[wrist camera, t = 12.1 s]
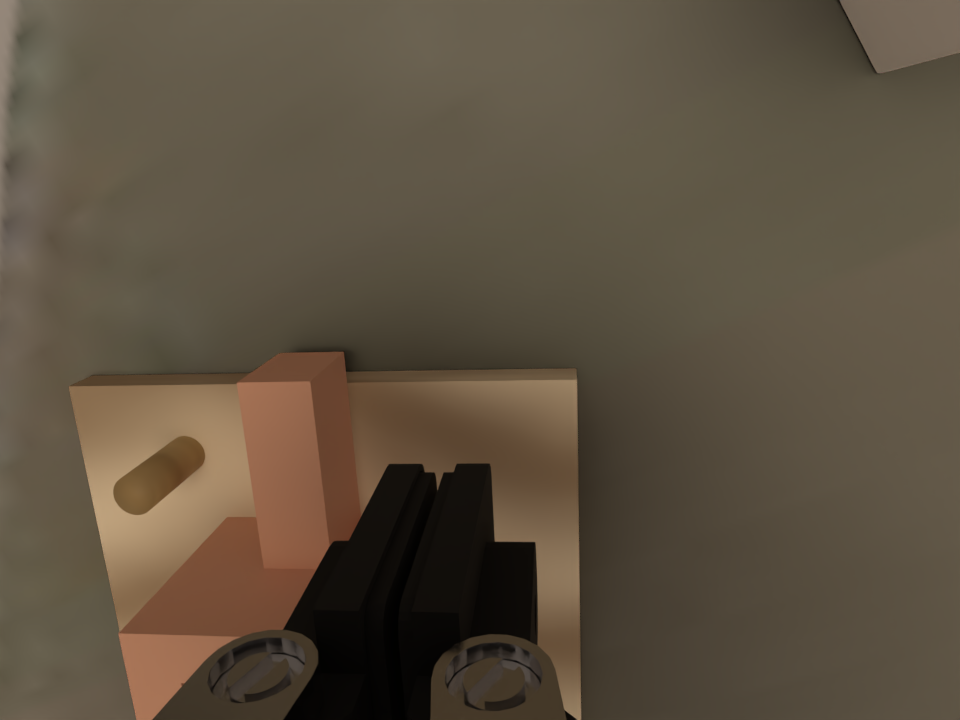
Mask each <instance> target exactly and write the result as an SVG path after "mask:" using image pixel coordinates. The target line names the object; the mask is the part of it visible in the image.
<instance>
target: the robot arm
mask: <svg viewBox="0 0 960 720" xmlns="http://www.w3.org/2000/svg"><path fill="white" fill-rule="evenodd" d="M537 645H538V595H537V561H536V544H535V542H495V536H494V515H493V495H492V476H491V466H490V464H489V463H467V464H456V466H455V470H454V472H444V473H443V476H442V479H441V482H440V485H439V488H438V490H437V481H436V475H435V473H434V472H425V471H424V466H423V464H389V465H388V466H387V468H386V470H385V471H384V473H383V475H382V477H381V479H380V481H379V483H378V485H377V487H376V489H375V491H374V493H373V495H372V497H371V499H370V500H369V502H368V504H367V506H366V508H365V510H364V512H363V514H362V516H361V518H360V520H359V522H358V524H357V526H356V527H355V529H354V531H353V533H352V535H351V537H350V539H349V541H333V542H332V544H331V545H330V546H329V548H328V550H327V552H326V553H325V555H324V557H323V559H322V561H321V562H320V564H319V566H318V568H317V569H316V571H315V573H314V575H313V577H312V578H311V580H310V582H309V584H308V586H307V587H306V589H305V591H304V593H303V595H302V596H301V598H300V600H299V602H298V603H297V605H296V607H295V609H294V611H293V612H292V614H291V616H290V618H289V620H288V621H287V623H286V625H285V627H284V629H283V630H266V631H261V632H255V633H251V634H248V635H245V636H243V637H240V638H237V639H234V640H233V641H231V642H229V643H227V644H226V645H224V646H222V647H220V648H219V649H217V650H216V651H215V652H214V653H213V654H212V655H211V656H209V657H208V658H207V659H206V660H205V661H204V662H203V663H202V664H201V665H200V667H199V668H198V669H197V670H196V671H195V672H194V673H193V674H192V676H191V677H190V678H189V679H188V680H187V681H186V682H185V683H184V684H183V686H182V687H181V688H180V689H179V690H178V691H177V692H176V693H175V695H174V696H173V697H172V698H171V699H170V700H169V701H168V702H167V704H166V705H165V706H164V707H163V708H162V709H161V710H160V711H159V713H158V714H157V715H156V716H155V717H154V718H153V719H152V720H577V719H576V718H574V717H573V716H572V715H571V714H569V713H568V712H567V711H565V710H564V706H563V701H562V697H561V692H560V688H559V683H558V679H557V674H556V670H555V667H554V665H553V663H552V661H551V659H550V657H549V656H548V655H547V654H546V653H545V652H544V651H543V650H542V649H541V648H540V647H539V646H537Z"/></svg>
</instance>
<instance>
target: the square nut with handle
mask: <svg viewBox="0 0 960 720" xmlns="http://www.w3.org/2000/svg"><path fill="white" fill-rule="evenodd" d="M237 389H238V396H239V402H240V409H241V416H242V423H243V430H244V437H245V443H246V450H247V457H248V464H249V471H250V478H251V485H252V491H253V498H254V505H255V512H256V517H227V518H226V519H225V520H224V521H223V522H222V523H221V524H220V525H219V526H218V527H217V528H216V529H215V530H214V532H213V533H212V534H211V535H210V536H209V537H208V538H207V539H206V540H205V541H204V542H203V543H202V544H201V545H200V547H199V548H198V549H197V550H196V551H195V552H194V553H193V554H192V555H191V556H190V557H189V558H188V559H187V560H186V562H185V563H184V564H183V565H182V566H181V567H180V568H179V569H178V570H177V571H176V572H175V573H174V574H173V575H172V577H171V578H170V579H169V580H168V581H167V582H166V583H165V584H164V585H163V586H162V587H161V588H160V589H159V590H158V591H157V593H156V594H155V595H154V596H153V597H152V598H151V599H150V600H149V601H148V602H147V603H146V604H145V605H144V606H143V608H142V609H141V610H140V611H139V612H138V613H137V614H136V615H135V616H134V617H133V618H132V619H131V620H130V621H129V623H128V624H127V625H126V626H125V627H124V628H123V629H122V630H121V631H120V632H119V633H118V634H119V639H120V643H121V648H122V653H123V658H124V662H125V667H126V672H127V676H128V681H129V686H130V690H131V695H132V700H133V705H134V709H135V714H136V719H137V720H152V719H153V718H154V717H155V716H156V715H157V714H158V713H159V711H160V710H161V709H162V708H163V707H164V706H165V705H166V704H167V702H168V701H169V700H170V699H171V698H172V697H173V696H174V695H175V693H176V692H177V691H178V690H179V689H180V688H181V687H182V686H183V684H184V683H185V682H186V681H187V680H188V679H189V678H190V677H191V676H192V674H193V673H194V672H195V671H196V670H197V669H198V668H199V667H200V665H201V664H202V663H203V662H204V661H205V660H206V659H207V658H208V657H209V656H211V655H212V654H213V653H214V652H215V651H216V650H217V649H219V648H220V647H222V646H224V645H226V644H227V643H229V642H231V641H233V640H234V639H237V638H240V637H243V636H245V635H248V634H251V633H255V632H261V631H266V630H283V629H284V627H285V625H286V623H287V621H288V620H289V618H290V616H291V614H292V612H293V611H294V609H295V607H296V605H297V603H298V602H299V600H300V598H301V596H302V595H303V593H304V591H305V589H306V587H307V586H308V584H309V582H310V580H311V578H312V577H313V575H314V573H315V571H316V569H317V568H318V566H319V564H320V562H321V561H322V559H323V557H324V555H325V553H326V552H327V550H328V548H329V546H330V545H331V544H332V542H333V541H349V539H350V537H351V535H352V533H353V531H354V529H355V527H356V526H357V524H358V522H359V520H360V518H361V512H360V503H359V493H358V483H357V474H356V464H355V454H354V445H353V435H352V425H351V416H350V406H349V396H348V387H347V377H346V367H345V358H344V352H301V353H279V354H277V355H276V356H274V357H273V358H272V359H270V360H269V361H267V362H266V363H264V364H263V365H261V366H260V367H259V368H257V369H256V370H254V371H253V372H251V373H250V374H248V375H247V376H245V377H244V378H243V379H241V380H240V381H238V382H237Z"/></svg>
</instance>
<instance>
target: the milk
mask: <svg viewBox="0 0 960 720" xmlns="http://www.w3.org/2000/svg"><path fill="white" fill-rule="evenodd" d="M839 1H840V3H841V5H842V7H843V9H844V11H845V12H846V14H847V16H848V18H849V20H850V22H851V24H852V26H853V28H854V30H855V32H856V34H857V36H858V38H859V40H860V42H861V43H862V45H863V47H864V49H865V51H866V53H867V55H868V57H869V59H870V61H871V63H872V65H873V67H874V69H875V70H876V72H877V73H885V72H889V71H893V70H896V69H900V68H904V67H908V66H911V65H915V64H919V63H923V62H926V61H930V60H934V59H938V58H941V57H945V56H949V55H953V54H956V53H960V0H839Z"/></svg>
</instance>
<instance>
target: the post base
mask: <svg viewBox="0 0 960 720" xmlns="http://www.w3.org/2000/svg"><path fill="white" fill-rule="evenodd" d="M248 374H250V373H225V374H158V375H92V376H90V377H88V378H86V379H84V380H82V381H79V382H77V383H75V384H73V385H71V386H69V390H70V395H71V400H72V405H73V410H74V414H75V419H76V424H77V429H78V433H79V438H80V443H81V448H82V453H83V457H84V462H85V467H86V472H87V476H88V481H89V486H90V491H91V496H92V500H93V505H94V510H95V515H96V519H97V524H98V529H99V534H100V539H101V543H102V548H103V553H104V558H105V562H106V567H107V572H108V577H109V582H110V586H111V591H112V596H113V601H114V605H115V610H116V615H117V620H118V625H119V629H120V631H121V630H122V629H123V628H124V627H125V626H126V625H127V624H128V623H129V621H130V620H131V619H132V618H133V617H134V616H135V615H136V614H137V613H138V612H139V611H140V610H141V609H142V608H143V606H144V605H145V604H146V603H147V602H148V601H149V600H150V599H151V598H152V597H153V596H154V595H155V594H156V593H157V591H158V590H159V589H160V588H161V587H162V586H163V585H164V584H165V583H166V582H167V581H168V580H169V579H170V578H171V577H172V575H173V574H174V573H175V572H176V571H177V570H178V569H179V568H180V567H181V566H182V565H183V564H184V563H185V562H186V560H187V559H188V558H189V557H190V556H191V555H192V554H193V553H194V552H195V551H196V550H197V549H198V548H199V547H200V545H201V544H202V543H203V542H204V541H205V540H206V539H207V538H208V537H209V536H210V535H211V534H212V533H213V532H214V530H215V529H216V528H217V527H218V526H219V525H220V524H221V523H222V522H223V521H224V520H225V519H226V518H227V517H256V512H255V505H254V498H253V491H252V485H251V478H250V471H249V464H248V457H247V450H246V443H245V437H244V430H243V423H242V416H241V409H240V402H239V396H238V389H237V382H238V381H240V380H241V379H243V378H244V377H245V376H247V375H248ZM346 377H347V387H348V396H349V406H350V416H351V425H352V435H353V445H354V454H355V464H356V474H357V483H358V493H359V503H360V512H361V516H362V514H363V512H364V510H365V508H366V506H367V504H368V502H369V500H370V499H371V497H372V495H373V493H374V491H375V489H376V487H377V485H378V483H379V481H380V479H381V477H382V475H383V473H384V471H385V470H386V468H387V466H388V465H389V464H423V466H424V471H425V472H434V473H435V475H436V481H437V490H438V488H439V485H440V482H441V479H442V476H443V473H444V472H454V470H455V466H456V464H467V463H489V464H490V466H491V476H492V495H493V515H494V536H495V542H535V544H536V561H537V595H538V645H537V646H539V647H540V648H541V649H542V650H543V651H544V652H545V653H546V654H547V655H548V656H549V657H550V659H551V661H552V663H553V665H554V667H555V670H556V674H557V679H558V683H559V688H560V692H561V697H562V701H563V706H564V710H565V711H567V712H568V713H569V714H571V715H572V716H573V717H574V718H576V719H577V720H581V663H580V581H579V499H578V417H577V372H576V368H556V369H490V370H423V371H357V372H346Z"/></svg>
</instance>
